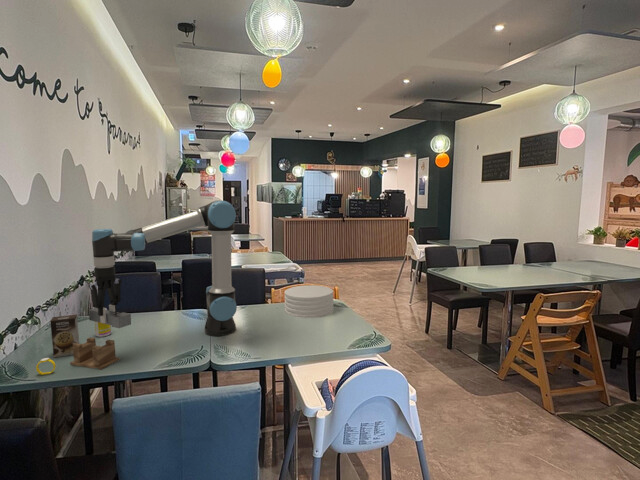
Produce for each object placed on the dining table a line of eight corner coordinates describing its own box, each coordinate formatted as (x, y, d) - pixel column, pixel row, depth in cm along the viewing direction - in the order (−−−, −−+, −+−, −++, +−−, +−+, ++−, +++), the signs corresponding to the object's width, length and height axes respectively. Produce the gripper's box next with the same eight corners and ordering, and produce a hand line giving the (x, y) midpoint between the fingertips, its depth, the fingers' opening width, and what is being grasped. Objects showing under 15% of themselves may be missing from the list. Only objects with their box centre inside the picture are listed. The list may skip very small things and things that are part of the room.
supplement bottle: (114, 333, 192) (112, 308, 191) (101, 338, 186) (99, 312, 185) (105, 331, 195) (103, 306, 193) (92, 336, 189) (90, 310, 187)
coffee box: (53, 358, 164) (49, 321, 162) (56, 352, 170) (52, 316, 168) (78, 354, 168) (74, 317, 166) (80, 348, 174) (77, 313, 172)
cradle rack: (119, 360, 161) (118, 340, 160) (101, 369, 152) (99, 348, 151) (89, 355, 166) (87, 336, 165) (70, 364, 157) (68, 344, 156)
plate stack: (290, 302, 242) (290, 284, 240) (335, 304, 238) (335, 285, 236) (279, 317, 214) (279, 296, 213) (330, 318, 210) (330, 298, 209)
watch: (36, 377, 148) (33, 362, 147) (39, 373, 150) (36, 359, 149) (54, 373, 149) (52, 358, 149) (57, 370, 152) (54, 356, 151)
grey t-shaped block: (131, 324, 161) (130, 313, 161) (119, 328, 156) (118, 317, 156) (99, 317, 170) (98, 307, 169) (87, 320, 165) (86, 310, 165)
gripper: (116, 262, 169) (119, 314, 172) (78, 269, 155) (83, 326, 157) (128, 263, 166) (131, 317, 169) (90, 270, 151) (95, 328, 154)
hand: (108, 321), depth 163 cm, fingers closed on grey t-shaped block, 3 cm apart
